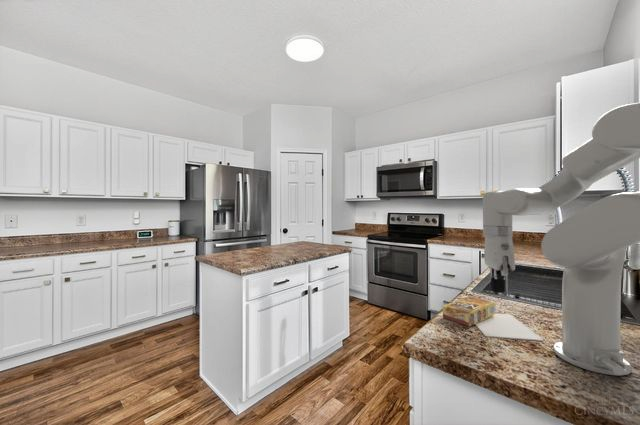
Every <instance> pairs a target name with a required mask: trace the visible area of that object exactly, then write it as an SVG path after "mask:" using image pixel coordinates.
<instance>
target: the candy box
mask: <svg viewBox="0 0 640 425" xmlns="http://www.w3.org/2000/svg"><path fill="white" fill-rule="evenodd" d="M441 307H442V318H444V319H446V320H449V321H452V322H454V323H455V322H456V323H458V324H461V325H463V326H466V327H472V326H474V325H475V324H476V323H478V322H480V321H482V320H484V319H486V318H488V317H490V316H492V315H494V314H497V312H496V302H495V301H492V300H487V299H484V298H480V297H476V296H471V295H468V296H465V297H463V298H460V299H457V300H455V301H452V302H449V303H446V304H445V305H442V306H441Z"/></svg>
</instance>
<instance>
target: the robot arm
mask: <svg viewBox="0 0 640 425" xmlns="http://www.w3.org/2000/svg"><path fill="white" fill-rule="evenodd" d="M591 137H592V138H590V139H589V140H587V141H586V142H583V143H582V144H581V145H579V146H577V147H576V148H575V149H573V150H571V151H570V152H568V153H567V154H565V156H563V158H562V159H561V164H562V168H561V170H560V172H559V173H557V175H556V176H554V177H553V178H552V179H550V180H549V181H547V182H546V183H544V184H542V185H541V186H539V187H537V188H513V189H509V190H498V191H497V190H495V191H487V192H485V193H483V195H482V236H483V237H484V252H483V253H484V254H483V258H484V264H485V265H486V266H488V269H489V272H490V273H489V274H490V290H491V291H492V292H494V293H505V292H506V277H508V276H509V271H510V272H514V271H515V270H516V261H515V257H516V256H515V249H514V242H513V216H520V217H522V216H540V215H545V214H548V213H550V212H552V211H554V210H556V209H558V208H560V207H562V206H565V205H566V204H568V203H569V202H571V201H573V200H574V199H577V198H578V197H579V196H580V195H582V194H583V193H584V192H585V191H586V190H588V189H589V188H590V187H591V186H592V185H593V184H594V183H596V182H598V181H599V180H602V179H603V178H605V177H608V176H609V175H611V174H613V173H615V172H616V171H618V170H620V169H622V168H624V167H626V166H627V165H629V164H631V163H633V162H635V161H637V160H639V159H640V102H635V103H630V104H625V105H620V106H617V107H615V108H613V109H610V110H609V111H607V112H606V113H604V114H602V116H600V117H599V118H598V119H597V121H596V122H595V123H594V125H593V126H592V131H591ZM637 243H640V191H635V192H631V191H630V192H629V191H628V192H619V193H614V194H611V195H608V196H605V197H602V198H600V199H598V200H596V201H594V202H593V203H591V204H589V205H588V206H586V207H584V208H582V209H581V210H578V212H576V213H574V214H572V215H571V216H569V217H568V218H566V219H564V220H563V221H561V222H560V223H558V224H556V225H555V226H553V227H551V229H549V230H548V231H547V232H546V233H545V234H544V235H543V237H542V240H541V244H540V247H541V252H542V254H543V256H544V258H545V259H546V260H547V261H548V262H550V263H551V264H553V265H555V266H558V267H560V268H564V269H563V274H562V282H561V283H562V284H561V285H562V287H561V288H562V290H561V294H562V295H561V341H557V342H556V343H554V344H553V351H554V353H555V355H556V356H558V357H559V358H561V359H562V360H564V361H565V362H567V363H569V364H571V365H572V366H573V365H574V366H576V367H578V368H580V369H584V370H587V371H591V372H593V373H597V374H603V375H609V376H627V375H629V374H631V372H632V371H633V367H632V366H631V364H630V362H629V361H627V360H626V359H625V358H624V352H623V351H621V304H622V303H621V299H622V296H621V294H622V293H621V292H622V276H623V275H622V274H623V267H624V263H625V258H626V248H629V247H630V246H634V245H636V244H637Z"/></svg>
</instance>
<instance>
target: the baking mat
mask: <svg viewBox="0 0 640 425" xmlns="http://www.w3.org/2000/svg"><path fill="white" fill-rule="evenodd" d="M474 325H475V327H476V328H477V329H478V330H479V331H480V332H481V333H482V334H483V335H484V337H486V338H497V339H508V340H509V339H510V340H511V339H512V340H525V341H534V342H536V341H538V342H544V339H543V338H541V336H540V335H538V334H536V332H534V331H532V329H530V328H529V327H528V326H526V325H525V324H523V323H522V321H519V320H518V319H517V318H516V317H515V316H514V315H512V314H507V313H496V314H494V315H492V316H490V317H488V318H486V319H484V320H482V321H480V322H478V323H476V324H474Z"/></svg>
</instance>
